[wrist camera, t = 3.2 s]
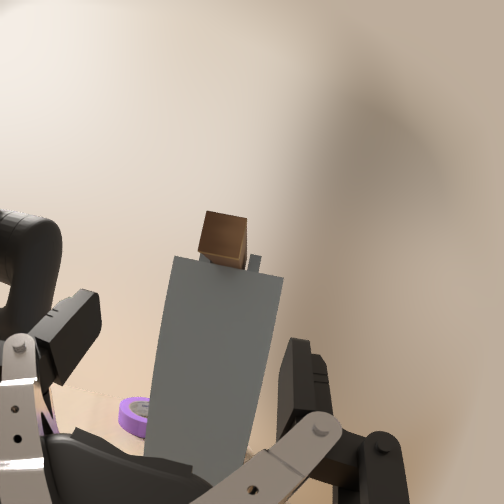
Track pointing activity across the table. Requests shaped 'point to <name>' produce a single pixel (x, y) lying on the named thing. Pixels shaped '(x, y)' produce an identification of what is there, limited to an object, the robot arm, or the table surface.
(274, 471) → the robot arm
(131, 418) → the masking tape
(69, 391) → the table surface
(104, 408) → the table surface
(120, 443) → the table surface
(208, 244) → the brown wooden bar
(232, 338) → the pale blue pedestal
